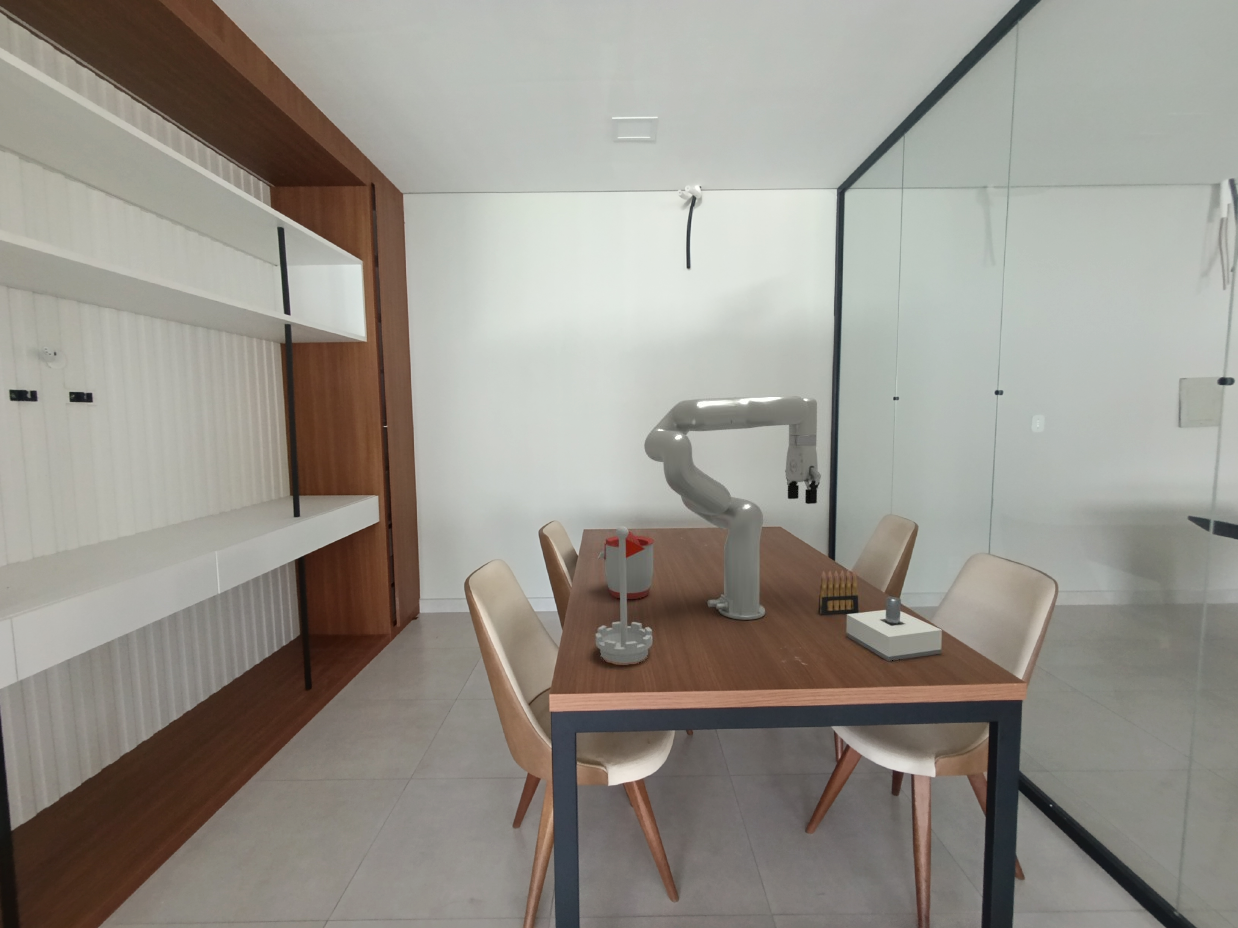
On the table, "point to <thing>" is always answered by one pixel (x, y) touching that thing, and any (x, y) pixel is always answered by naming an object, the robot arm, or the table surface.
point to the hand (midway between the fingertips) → (801, 500)
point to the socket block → (894, 635)
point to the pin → (893, 611)
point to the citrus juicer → (629, 567)
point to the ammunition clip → (838, 594)
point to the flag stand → (624, 618)
